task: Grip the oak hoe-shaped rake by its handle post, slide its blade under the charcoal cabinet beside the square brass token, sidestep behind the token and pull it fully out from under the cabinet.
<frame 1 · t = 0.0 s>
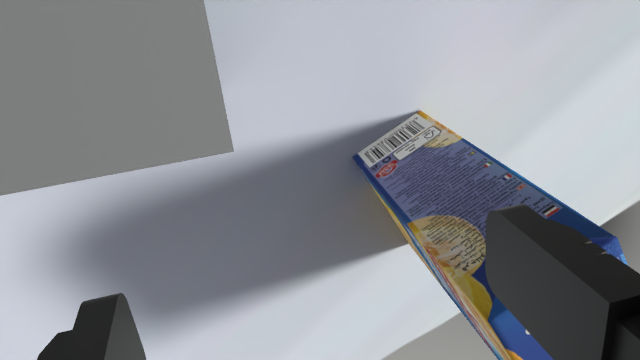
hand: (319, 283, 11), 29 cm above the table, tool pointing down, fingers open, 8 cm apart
beverage box: (413, 179, 45), on the table
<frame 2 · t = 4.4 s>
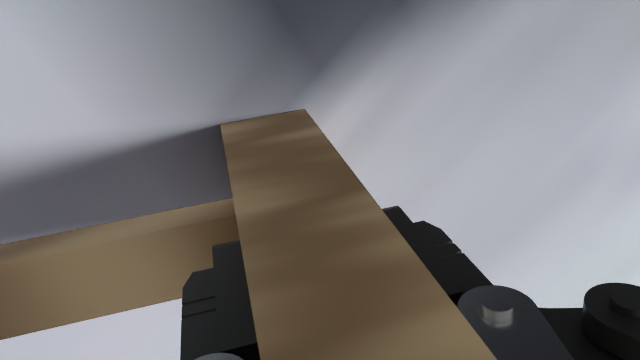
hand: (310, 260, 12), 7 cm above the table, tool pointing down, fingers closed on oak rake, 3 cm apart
oak rake: (269, 156, 18), on the table, touching gripper
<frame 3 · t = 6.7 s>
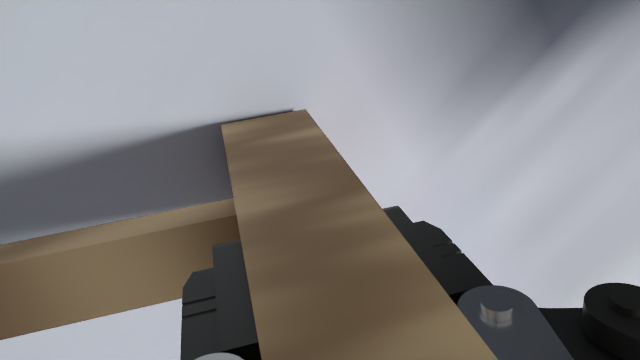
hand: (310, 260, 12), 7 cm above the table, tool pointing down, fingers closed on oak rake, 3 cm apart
oak rake: (270, 156, 18), on the table, touching gripper
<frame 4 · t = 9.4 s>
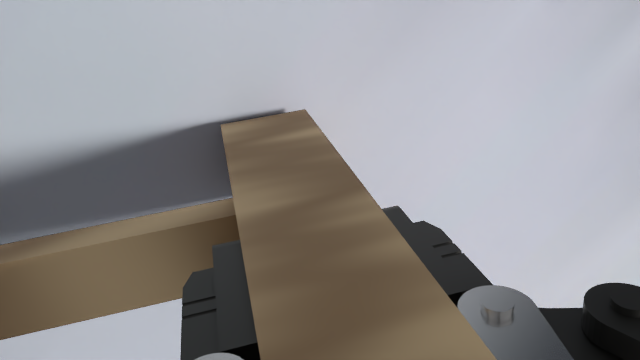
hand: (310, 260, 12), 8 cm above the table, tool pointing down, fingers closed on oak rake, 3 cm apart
oak rake: (270, 156, 18), point 1 cm above the table, touching gripper
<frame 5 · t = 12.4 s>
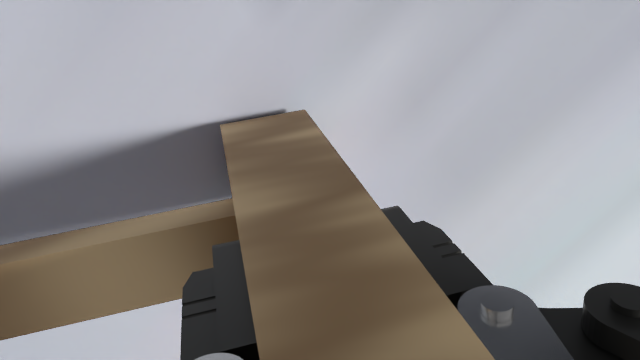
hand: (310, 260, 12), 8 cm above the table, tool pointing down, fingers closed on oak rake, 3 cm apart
oak rake: (269, 156, 18), point 1 cm above the table, touching gripper
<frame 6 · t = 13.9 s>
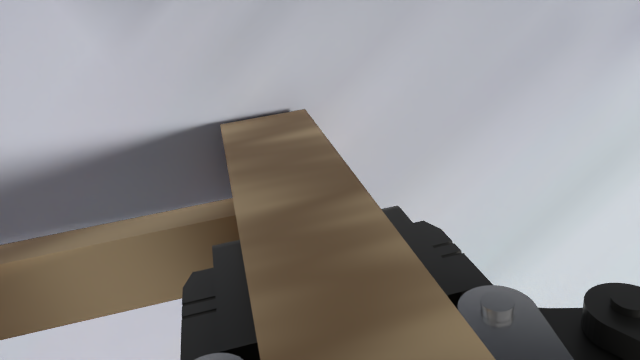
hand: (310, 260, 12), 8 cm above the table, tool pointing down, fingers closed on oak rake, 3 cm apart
oak rake: (269, 156, 18), on the table, touching gripper
when the fingers open (8 cm above the table, at t = 14.7 s): oak rake stays where it is, on the table.
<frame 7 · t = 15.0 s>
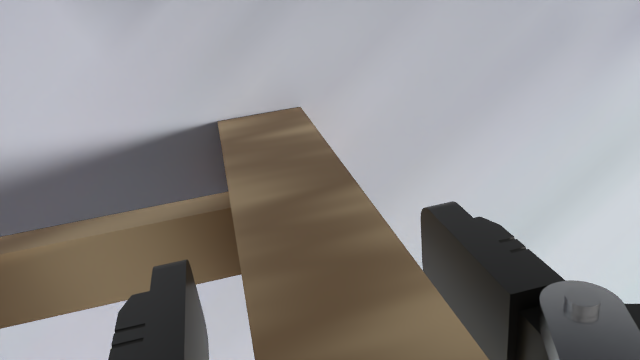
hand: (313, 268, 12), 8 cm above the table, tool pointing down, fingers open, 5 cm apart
oak rake: (266, 152, 19), on the table
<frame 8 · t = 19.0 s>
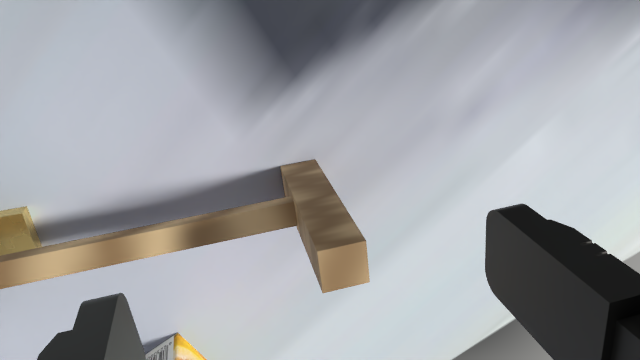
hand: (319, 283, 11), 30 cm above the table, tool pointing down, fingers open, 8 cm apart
brass token: (7, 234, 40), on the table
oak rake: (300, 178, 43), on the table
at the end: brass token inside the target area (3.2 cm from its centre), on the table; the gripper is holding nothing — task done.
